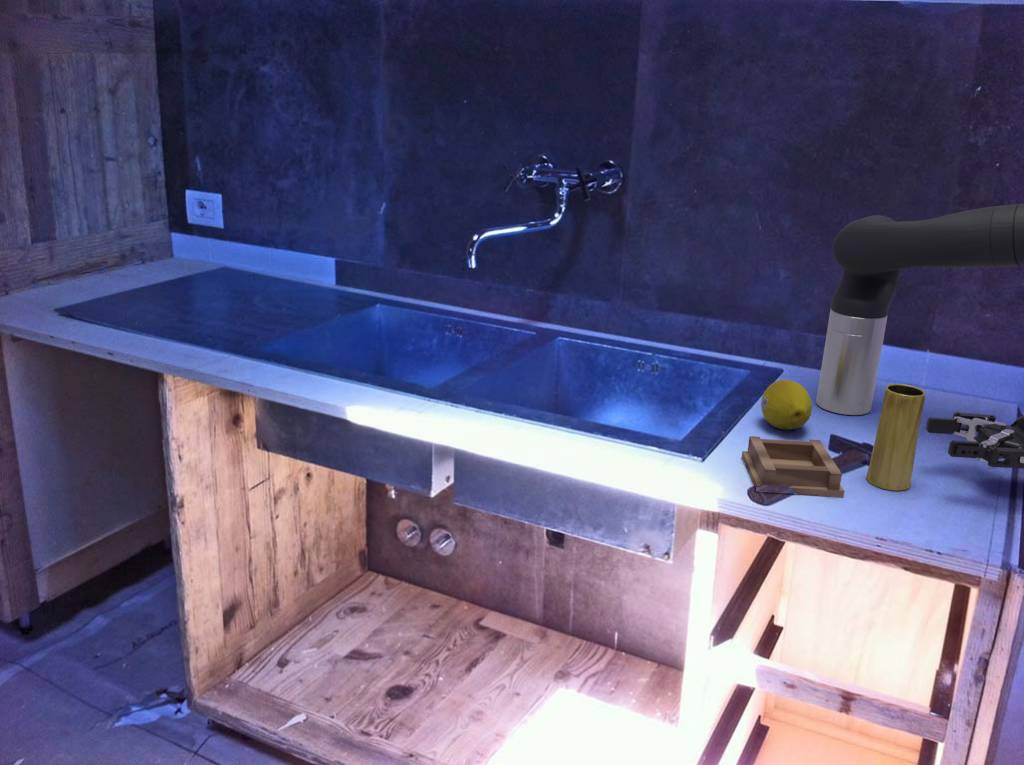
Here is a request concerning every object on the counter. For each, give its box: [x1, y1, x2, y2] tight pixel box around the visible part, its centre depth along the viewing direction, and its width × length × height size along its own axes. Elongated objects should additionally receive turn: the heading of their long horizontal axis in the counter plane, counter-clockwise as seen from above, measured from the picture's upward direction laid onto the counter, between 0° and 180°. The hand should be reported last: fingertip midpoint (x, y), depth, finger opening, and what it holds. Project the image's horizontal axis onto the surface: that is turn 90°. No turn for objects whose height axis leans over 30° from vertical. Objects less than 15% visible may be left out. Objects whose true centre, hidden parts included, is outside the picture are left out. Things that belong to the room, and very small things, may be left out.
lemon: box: [760, 379, 813, 430], centre depth 153 cm, size 11×8×8 cm
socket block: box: [741, 435, 845, 498], centre depth 136 cm, size 12×12×4 cm
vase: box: [865, 383, 926, 492], centre depth 133 cm, size 6×6×14 cm
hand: (938, 436), depth 133 cm, fingers open, 8 cm apart
